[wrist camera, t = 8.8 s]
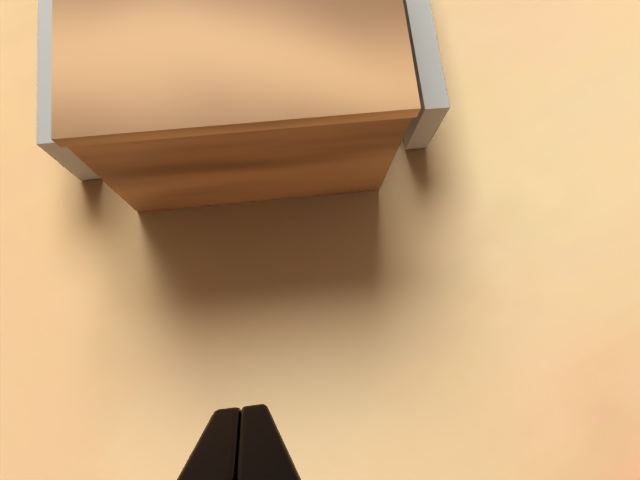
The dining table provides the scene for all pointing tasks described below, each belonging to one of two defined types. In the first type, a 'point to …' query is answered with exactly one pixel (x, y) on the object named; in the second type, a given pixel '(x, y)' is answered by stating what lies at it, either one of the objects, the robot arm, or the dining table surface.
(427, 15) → the bay
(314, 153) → the tea box
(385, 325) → the dining table surface
